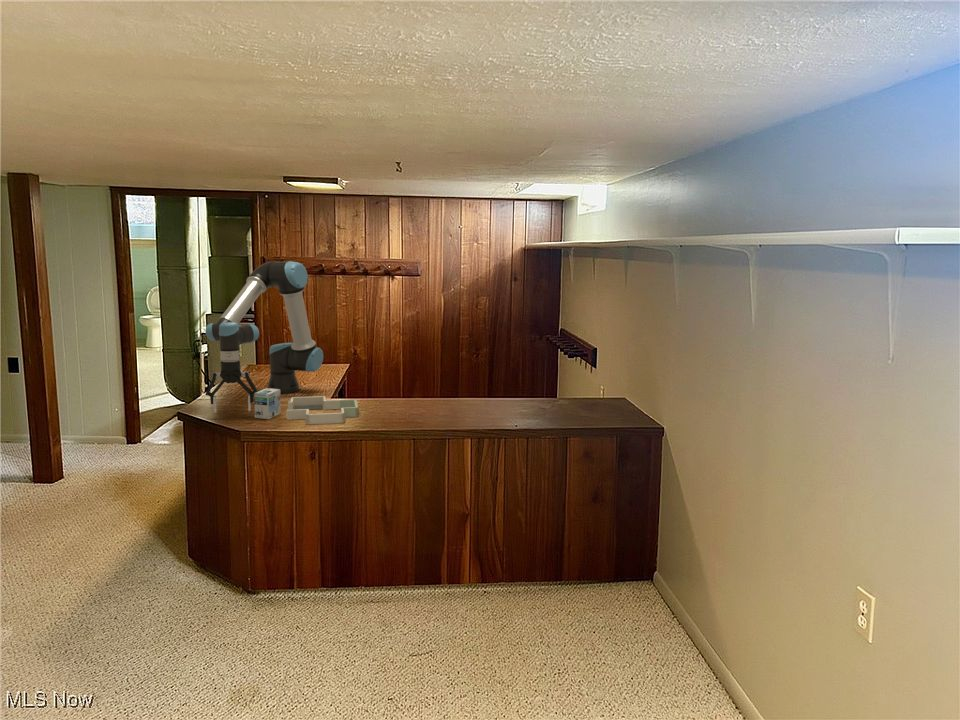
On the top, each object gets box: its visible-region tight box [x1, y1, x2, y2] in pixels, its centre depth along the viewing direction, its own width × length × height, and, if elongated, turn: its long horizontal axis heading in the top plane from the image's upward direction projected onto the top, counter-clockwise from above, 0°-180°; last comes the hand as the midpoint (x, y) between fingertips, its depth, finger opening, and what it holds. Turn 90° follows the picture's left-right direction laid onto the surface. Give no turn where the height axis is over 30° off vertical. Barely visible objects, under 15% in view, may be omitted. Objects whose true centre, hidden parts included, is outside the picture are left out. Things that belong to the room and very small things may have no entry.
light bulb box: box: [254, 387, 281, 420], centre depth 301 cm, size 11×7×11 cm, turn 168°
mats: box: [293, 405, 324, 411], centre depth 307 cm, size 32×19×1 cm, turn 13°
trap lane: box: [285, 395, 359, 425], centre depth 307 cm, size 34×29×4 cm
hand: (232, 411), depth 299 cm, fingers open, 13 cm apart
